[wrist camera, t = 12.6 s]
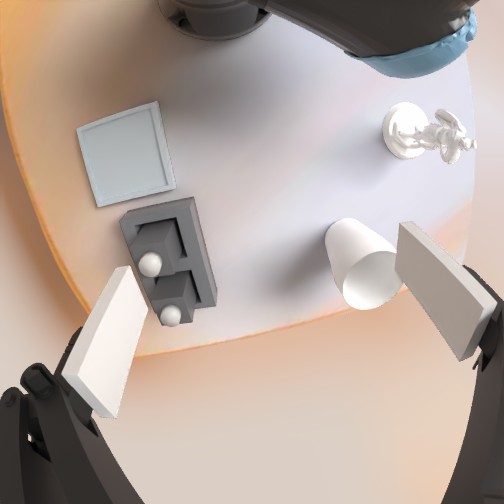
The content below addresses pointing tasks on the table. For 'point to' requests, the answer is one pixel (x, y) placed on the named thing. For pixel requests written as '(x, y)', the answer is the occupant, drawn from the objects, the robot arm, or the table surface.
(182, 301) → the plug
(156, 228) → the gray block holder
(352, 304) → the cup
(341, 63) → the table surface
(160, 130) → the tray
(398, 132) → the figurine
